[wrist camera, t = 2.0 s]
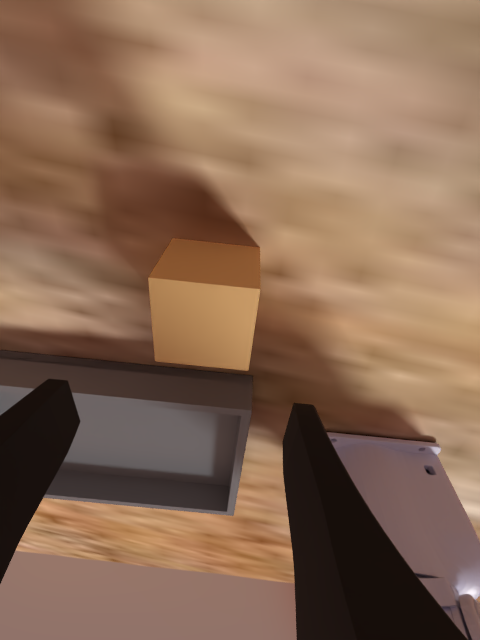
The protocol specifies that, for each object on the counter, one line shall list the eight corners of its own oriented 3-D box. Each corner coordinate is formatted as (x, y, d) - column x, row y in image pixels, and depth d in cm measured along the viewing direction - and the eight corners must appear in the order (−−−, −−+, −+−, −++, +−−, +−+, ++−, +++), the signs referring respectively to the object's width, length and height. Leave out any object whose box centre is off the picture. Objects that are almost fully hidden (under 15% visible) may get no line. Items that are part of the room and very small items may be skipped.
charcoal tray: (252, 375, 22) (251, 410, 19) (235, 481, 30) (233, 515, 27) (-38, 346, 22) (-76, 377, 19) (23, 461, 30) (1, 493, 27)
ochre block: (259, 246, 17) (260, 289, 13) (250, 318, 19) (248, 370, 16) (172, 237, 17) (148, 277, 13) (175, 310, 19) (154, 361, 15)
